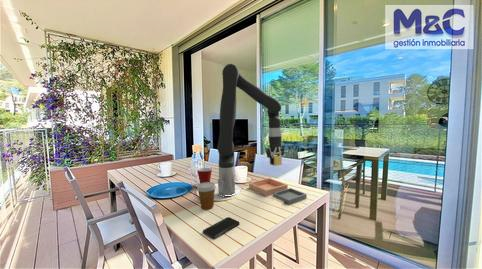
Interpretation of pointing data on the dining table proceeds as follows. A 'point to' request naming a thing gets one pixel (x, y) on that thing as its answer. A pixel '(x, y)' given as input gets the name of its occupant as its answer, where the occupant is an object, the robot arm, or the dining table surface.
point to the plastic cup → (204, 174)
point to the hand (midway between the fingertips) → (275, 163)
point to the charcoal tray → (290, 195)
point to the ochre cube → (277, 160)
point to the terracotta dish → (268, 186)
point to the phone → (220, 228)
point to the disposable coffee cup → (206, 195)
